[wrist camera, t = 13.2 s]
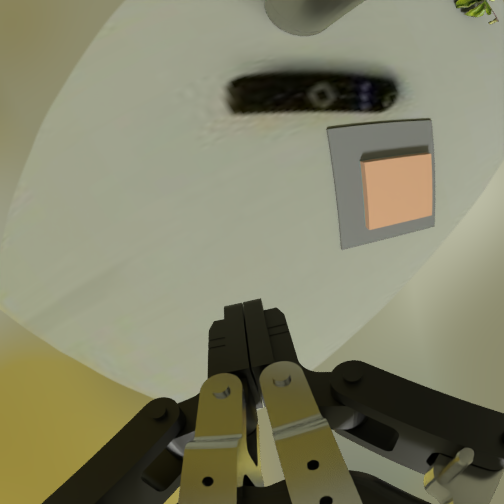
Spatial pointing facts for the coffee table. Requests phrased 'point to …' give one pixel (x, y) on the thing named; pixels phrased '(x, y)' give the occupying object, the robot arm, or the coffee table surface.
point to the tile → (396, 189)
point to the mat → (349, 175)
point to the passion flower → (476, 8)
